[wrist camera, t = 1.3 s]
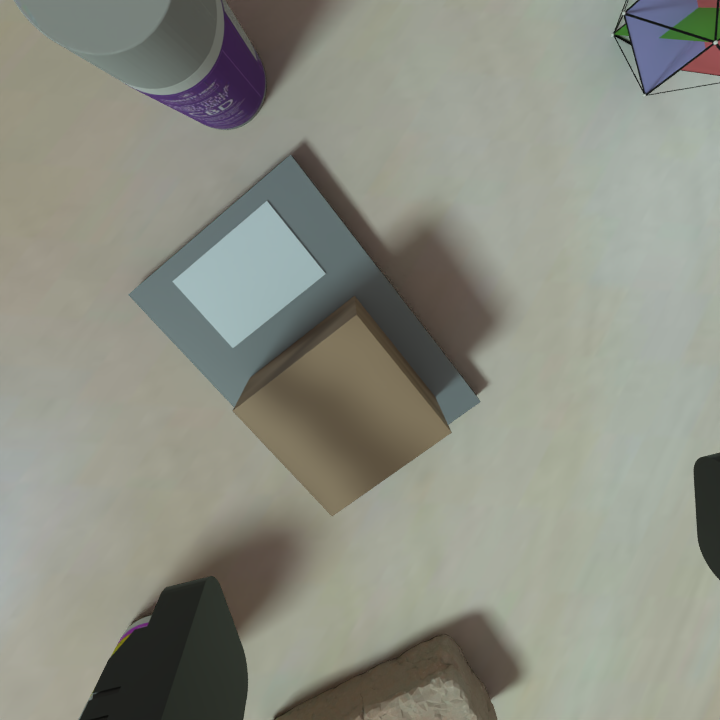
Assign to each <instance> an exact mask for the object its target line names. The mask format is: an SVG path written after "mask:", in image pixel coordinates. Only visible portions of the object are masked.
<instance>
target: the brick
mask: <svg viewBox="0 0 720 720" xmlns="http://www.w3.org/2000/svg"><path fill="white" fill-rule="evenodd" d="M275 720H497V716H496V713H495V709H494V706H493V704H492V703H491V700H490V698H489V696H488V693H487V691H486V688H485V686H484V684H483V682H481V681H480V680H479V679H478V678H477V677H476V675H475V674H474V673H473V672H472V670H471V668H470V666H468V664H467V662H466V659H465V658H464V656H463V654H462V651H461V649H460V647H459V646H458V645H457V644H456V643H455V641H454V640H453V638H451V637H449V636H447V635H441V636H436V637H434V638H433V639H431V640H429V641H425V642H422V643H420V644H419V645H417V646H415V647H413V648H411V649H409V650H408V651H406V652H405V653H403V654H402V655H401V656H400V657H399V658H395V659H393V660H390V661H387V662H384V663H382V664H379V665H377V666H376V667H375V668H373V669H371V670H369V671H368V672H366V673H364V674H362V675H358V676H355V677H353V678H352V679H350V680H348V681H346V682H344V683H342V684H340V685H339V686H337V687H336V688H335V689H329V690H327V691H325V692H323V693H321V694H320V695H318V696H316V697H314V698H312V699H310V700H308V701H306V702H304V703H302V704H300V705H298V706H296V707H295V708H294V709H292V710H290V711H288V712H287V713H285V714H284V715H282V716H280V717H278V718H277V719H275Z"/></svg>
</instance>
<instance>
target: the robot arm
mask: <svg viewBox="0 0 720 720" xmlns="http://www.w3.org/2000/svg"><path fill="white" fill-rule="evenodd" d="M694 486H695V503H696V519H697V536H698V543H699V547H700V550H701V552H702V555H703V557H704V559H705V561H706V563H707V564H708V566H709V568H710V569H711V570H712V572H713V573H714V574H715V575H716V577H717V578H718V579H719V580H720V453H716V454H712V455H708V456H704V457H700V458H699V459H698V460H697V461H696V463H695V465H694ZM247 691H248V672H247V663H246V658H245V653H244V650H243V647H242V644H241V641H240V638H239V636H238V633H237V630H236V628H235V625H234V622H233V619H232V617H231V614H230V611H229V608H228V606H227V603H226V600H225V597H224V595H223V592H222V589H221V587H220V584H219V582H218V581H217V579H216V578H215V577H213V576H210V577H206V578H202V579H198V580H194V581H190V582H186V583H182V584H178V585H174V586H169V587H166V588H165V589H164V590H163V591H162V593H161V595H160V597H159V600H158V602H157V604H156V607H155V609H154V611H153V614H152V616H151V618H150V621H149V623H148V625H147V626H146V627H142V628H138V629H135V630H134V631H133V632H132V633H131V634H130V636H129V637H128V638H127V639H126V640H125V641H124V642H123V644H122V645H121V646H120V647H119V648H118V649H117V651H116V652H115V653H114V654H113V655H112V656H111V658H110V659H109V660H108V662H107V664H106V666H105V668H104V670H103V672H102V674H101V676H100V678H99V680H98V682H97V685H96V687H95V689H94V691H93V693H92V694H93V698H92V700H89V701H88V703H87V705H86V707H85V709H84V711H83V713H82V715H81V717H80V719H79V720H243V718H244V711H245V705H246V699H247Z"/></svg>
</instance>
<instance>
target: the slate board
mask: <svg viewBox="0 0 720 720" xmlns="http://www.w3.org/2000/svg"><path fill="white" fill-rule="evenodd" d="M129 296H130V297H131V298H132V299H133V300H134V301H135V302H136V303H137V305H138V306H139V307H140V308H141V309H142V310H143V311H144V312H145V313H146V314H147V315H148V316H149V317H150V318H151V319H152V321H153V322H154V323H155V324H156V325H157V326H158V327H159V328H160V329H161V330H162V331H163V332H164V333H165V334H166V335H167V336H168V338H169V339H170V340H171V341H172V342H173V343H174V344H175V345H176V346H177V347H178V348H179V349H180V350H181V351H182V352H183V353H184V355H185V356H186V357H187V358H188V359H189V360H190V361H191V362H192V363H193V364H194V365H195V366H196V367H197V368H198V369H199V370H200V372H201V373H202V374H203V375H204V376H205V377H206V378H207V379H208V380H209V381H210V382H211V383H212V384H213V385H214V386H215V388H216V389H217V390H218V391H219V392H220V393H221V394H222V395H223V396H224V397H225V398H226V399H227V400H228V401H229V402H230V403H231V405H232V406H233V407H235V405H236V403H237V401H238V399H239V398H240V396H241V394H242V392H243V390H244V388H245V386H246V384H247V382H248V380H249V378H250V377H252V376H253V375H254V374H255V373H257V372H258V371H259V370H260V369H262V368H263V367H264V366H266V365H267V364H268V363H269V362H271V361H272V360H273V359H274V358H276V357H277V356H278V355H280V354H281V353H282V352H283V351H285V350H286V349H287V348H289V347H290V346H291V345H292V344H294V343H295V342H296V341H297V340H299V339H300V338H301V337H303V336H304V335H305V334H306V333H308V332H309V331H310V330H311V329H313V328H314V327H315V326H317V325H318V324H319V323H320V322H322V321H323V320H324V319H325V318H327V317H328V316H329V315H331V314H332V313H333V312H334V311H336V310H337V309H338V308H340V307H341V306H342V305H343V304H345V303H346V302H347V301H348V300H350V299H351V298H352V297H354V296H355V297H356V298H357V299H358V301H359V302H360V303H361V304H362V306H363V307H364V308H365V309H366V311H367V312H368V313H369V314H370V316H371V317H372V318H373V319H374V321H375V322H376V323H377V324H378V326H379V327H380V328H381V329H382V331H383V332H384V333H385V334H386V336H387V337H388V338H389V339H390V341H391V342H392V343H393V344H394V346H395V347H396V348H397V350H398V351H399V352H400V353H401V355H402V356H403V357H404V358H405V360H406V361H407V362H408V363H409V365H410V366H411V367H412V368H413V370H414V371H415V372H416V373H417V375H418V376H419V377H420V378H421V380H422V381H423V382H424V383H425V385H426V386H427V387H428V388H429V390H430V391H431V392H432V393H433V395H434V396H435V397H436V399H437V402H438V404H439V406H440V408H441V410H442V413H443V415H444V417H445V419H446V421H447V424H450V423H451V422H453V421H454V420H455V419H457V418H458V417H460V416H461V415H463V414H464V413H465V412H467V411H468V410H470V409H471V408H472V407H474V406H475V405H477V404H478V403H480V400H479V399H478V397H477V396H476V394H475V393H474V392H473V390H472V389H471V388H470V386H469V385H468V384H467V383H466V381H465V380H464V379H463V377H462V376H461V375H460V373H459V372H458V371H457V370H456V368H455V367H454V366H453V364H452V363H451V362H450V360H449V359H448V358H447V357H446V355H445V354H444V353H443V351H442V350H441V349H440V348H439V346H438V345H437V344H436V342H435V341H434V340H433V338H432V337H431V336H430V335H429V333H428V332H427V331H426V329H425V328H424V327H423V325H422V324H421V323H420V322H419V320H418V319H417V318H416V316H415V315H414V314H413V312H412V311H411V310H410V309H409V307H408V306H407V305H406V303H405V302H404V301H403V299H402V298H401V297H400V296H399V294H398V293H397V292H396V290H395V289H394V288H393V286H392V285H391V284H390V283H389V281H388V280H387V279H386V277H385V276H384V275H383V273H382V272H381V271H380V270H379V268H378V267H377V266H376V264H375V263H374V262H373V260H372V259H371V258H370V257H369V255H368V254H367V253H366V251H365V250H364V249H363V247H362V246H361V245H360V244H359V242H358V241H357V240H356V238H355V237H354V236H353V234H352V233H351V232H350V231H349V229H348V228H347V227H346V225H345V224H344V223H343V221H342V220H341V219H340V218H339V216H338V215H337V214H336V212H335V211H334V210H333V208H332V207H331V206H330V205H329V203H328V202H327V201H326V199H325V198H324V197H323V195H322V194H321V193H320V192H319V190H318V189H317V188H316V186H315V185H314V184H313V182H312V181H311V180H310V179H309V177H308V176H307V175H306V173H305V172H304V171H303V169H302V168H301V167H300V166H299V164H298V163H297V162H296V160H295V159H294V158H293V156H291V155H289V156H288V157H287V158H286V159H285V160H284V161H282V162H281V163H280V164H279V165H278V166H277V167H276V168H274V169H273V170H272V171H271V172H270V173H269V174H267V175H266V176H265V177H264V178H263V179H262V180H260V181H259V182H258V183H257V184H256V185H255V186H254V187H252V188H251V189H250V190H249V191H248V192H247V193H245V194H244V195H243V196H242V197H241V198H240V199H238V200H237V201H236V202H235V203H234V204H233V205H232V206H230V207H229V208H228V209H227V210H226V211H225V212H223V213H222V214H221V215H220V216H219V217H218V218H217V219H215V220H214V221H213V222H212V223H211V224H210V225H208V226H207V227H206V228H205V229H204V230H203V231H201V232H200V233H199V234H198V235H197V236H196V237H195V238H193V239H192V240H191V241H190V242H189V243H188V244H186V245H185V246H184V247H183V248H182V249H181V250H179V251H178V252H177V253H176V254H175V255H174V256H173V257H171V258H170V259H169V260H168V261H167V262H166V263H164V264H163V265H162V266H161V267H160V268H159V269H157V270H156V271H155V272H154V273H153V274H152V275H151V276H149V277H148V278H147V279H146V280H145V281H144V282H142V283H141V284H140V285H139V286H138V287H137V288H135V289H134V290H133V291H132V292H131V293H130V294H129Z"/></svg>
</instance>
